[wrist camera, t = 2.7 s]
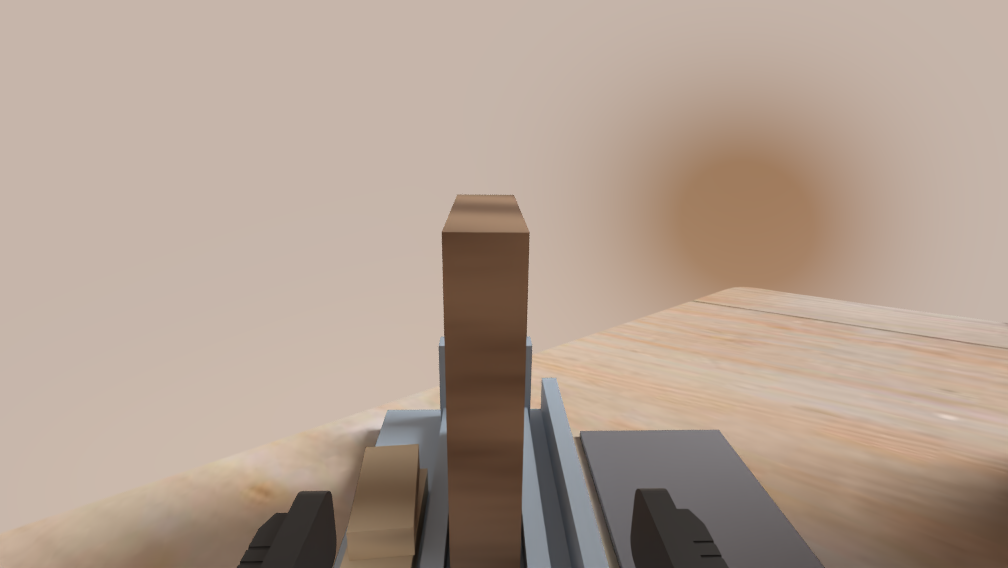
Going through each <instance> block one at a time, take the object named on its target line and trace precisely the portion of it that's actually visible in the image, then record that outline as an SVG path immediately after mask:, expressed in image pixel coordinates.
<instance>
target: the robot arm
mask: <svg viewBox="0 0 1008 568" xmlns="http://www.w3.org/2000/svg"><path fill="white" fill-rule="evenodd" d="M630 544H631V552H632V557H633V561H634V564H635V567H636V568H729V567H728V565H727V564H726V562H725V560H724V558H722V555H721V553H720V551H719V549H718V547H717V546H716V544H714V540H713V538H712V537H711V535H710V533H709V531H708V529H707V528H706V526H705V524H704V523H703V522H702V521H701V520H700V519H699V518H698V517H697V516H696V515H694V514H693V513H692V512H691V511H690V510H689V509H677V508H676V506H675V504H674V502H673V500H672V498H671V496H670V494H669V492H668V491H667V489H665V488H638V489H636V491H635V497H634V506H633V515H632V524H631V534H630ZM335 553H336V530H335V520H334V510H333V501H332V494H331V492H330V491H301V492H299V493H298V495H297V496H296V498H295V500H294V502H293V504H292V506H291V508H290V510H289V512H288V513H276V514H274V515H273V516H272V517H271V518H270V519H269V520H268V521H267V522H266V523H265V524H263V525H262V526H261V527H260V528H259V529H258V531H257V533H256V535H255V536H254V538H253V540H252V542H251V543H250V545H249V549H248V550H246V552H245V554H244V556H243V558H242V559H241V561H240V565H238V566H237V568H332V566H333V563H334V559H335Z"/></svg>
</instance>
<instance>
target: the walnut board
mask: <svg viewBox="0 0 1008 568" xmlns="http://www.w3.org/2000/svg"><path fill="white" fill-rule="evenodd" d="M442 259H443V296H444V297H443V300H444V341H445V381H446V422H447V463H448V504H449V545H450V568H520V553H521V517H522V481H523V445H524V410H525V374H526V338H527V302H528V301H527V299H528V266H529V265H528V264H529V231H528V228H527V226H526V223H525V221H524V218H523V216H522V213H521V211H520V209H519V206H518V204H517V201H516V199H515V197H514V195H457V197H456V199H455V202H454V204H453V206H452V209H451V211H450V214H449V216H448V219H447V221H446V223H445V226H444V228H443V231H442Z"/></svg>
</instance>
